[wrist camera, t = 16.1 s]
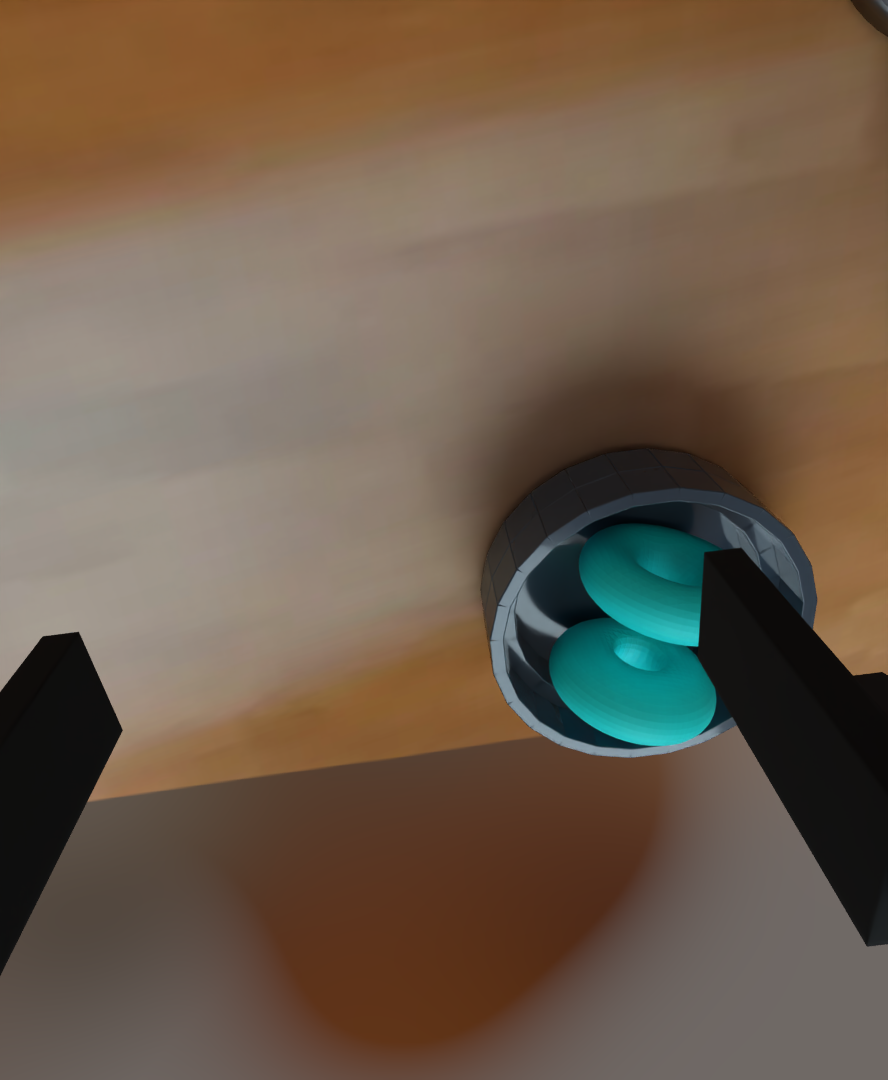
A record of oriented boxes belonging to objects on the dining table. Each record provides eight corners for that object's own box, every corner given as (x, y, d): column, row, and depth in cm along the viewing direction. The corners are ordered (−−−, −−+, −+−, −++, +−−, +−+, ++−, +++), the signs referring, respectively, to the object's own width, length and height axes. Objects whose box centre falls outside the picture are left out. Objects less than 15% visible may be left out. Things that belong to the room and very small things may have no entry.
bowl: (779, 425, 42) (838, 467, 36) (751, 672, 50) (795, 738, 45) (466, 465, 42) (475, 513, 36) (493, 704, 51) (504, 773, 45)
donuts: (532, 639, 47) (561, 748, 38) (570, 505, 43) (612, 594, 34) (673, 655, 48) (733, 765, 40) (725, 527, 44) (805, 618, 35)
